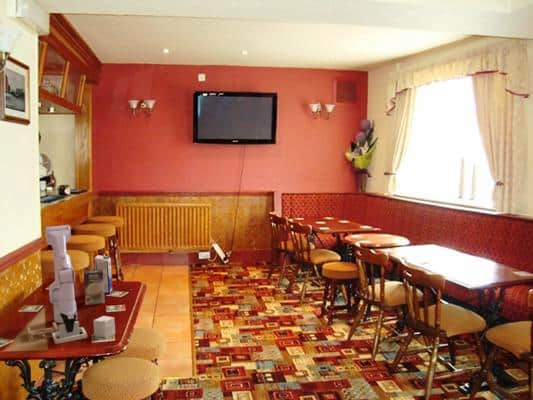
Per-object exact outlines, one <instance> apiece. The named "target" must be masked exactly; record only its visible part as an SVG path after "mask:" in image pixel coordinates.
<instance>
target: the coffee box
mask: <svg viewBox="0 0 533 400" xmlns="http://www.w3.org/2000/svg"><path fill="white" fill-rule="evenodd" d="M83 272H84V274H83V275H84V297H85V299H84V301H85V302H84V303H85V304H84V305H86V306H87V305H89V306H90V305H97V304H98V305H101V304H105V294H104V281H103V269H101V270H95V269H92V270H91V269H90V270H84V271H83ZM100 303H101V304H100Z"/></svg>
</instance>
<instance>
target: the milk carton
mask: <svg viewBox="0 0 533 400" xmlns="http://www.w3.org/2000/svg"><path fill="white" fill-rule="evenodd" d="M94 266H95V267H94V268H95V269H94V270H101V269H103V281H104V295H111V294H112V292H113V278H112V276H113V275H112V260H111V257H109V256H108V255H99V254H98V255H97V256H95V257H94ZM111 291H112V292H111Z"/></svg>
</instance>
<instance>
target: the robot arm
mask: <svg viewBox="0 0 533 400" xmlns="http://www.w3.org/2000/svg"><path fill="white" fill-rule="evenodd" d="M44 232H45V239H46V240H45V241H46V245H50V246H51V247H52V251H53V252H52V253H53V255H52V256H53V265H54V266H53V267H54V278H55V279H54V281H53V282H51V284H50V285H49V289H48V291H49V293H48V295H49V302H50V303H51V304H53V317H54V322H55V323H56V324H57V323H58V324H59V323H60V324H65V327H66V331H67V333H70V332H73V328H74V322H76V321H78V309H77V303H76V300H75V299H76V298H75V284H74V283H75V281H76V278H75V277H76V276H75V275H76V273H75V271H74V267H73V265H72V260H71V256H70V255H69V254H68V253H67V243H69V242H70V240H71V238H72V233H71V232H72V231H71V226H70V225H69V224H65V225H57V226H56V225H54V226H46V227H45V229H44Z"/></svg>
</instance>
